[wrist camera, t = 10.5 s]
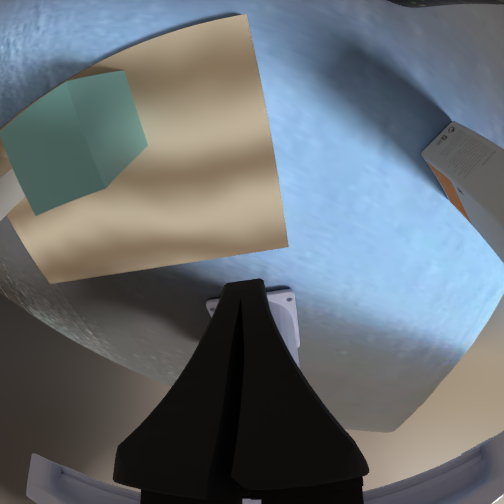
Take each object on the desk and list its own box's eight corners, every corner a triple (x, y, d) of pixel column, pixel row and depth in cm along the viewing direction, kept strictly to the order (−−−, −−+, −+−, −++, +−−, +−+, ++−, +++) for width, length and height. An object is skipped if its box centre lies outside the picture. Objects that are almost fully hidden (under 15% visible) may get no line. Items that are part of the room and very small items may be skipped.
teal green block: (148, 145, 15) (106, 188, 11) (85, 169, 16) (35, 216, 11) (124, 70, 12) (66, 81, 7) (60, 103, 13) (-2, 132, 8)
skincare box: (417, 153, 16) (532, 262, 7) (451, 118, 14) (577, 203, 5) (448, 203, 19) (532, 308, 9) (478, 172, 17) (571, 264, 7)
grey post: (32, 190, 16) (-4, 225, 12) (16, 198, 17) (-18, 232, 13) (20, 162, 15) (-20, 194, 11) (5, 173, 15) (-32, 204, 11)
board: (287, 240, 21) (288, 247, 20) (53, 278, 24) (50, 284, 23) (246, 16, 11) (245, 14, 11) (-17, 145, 14) (-22, 149, 13)
